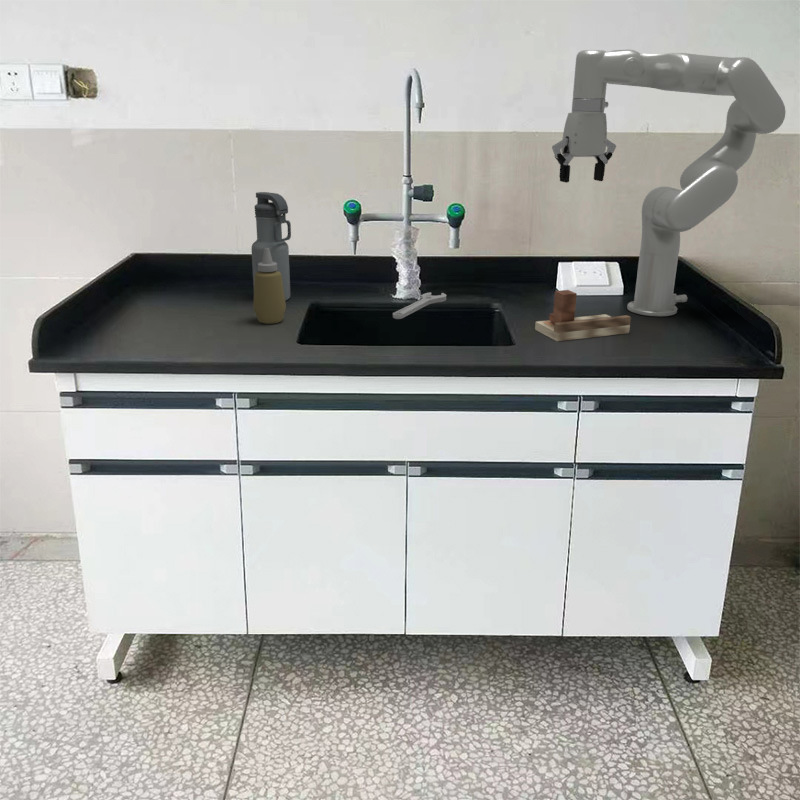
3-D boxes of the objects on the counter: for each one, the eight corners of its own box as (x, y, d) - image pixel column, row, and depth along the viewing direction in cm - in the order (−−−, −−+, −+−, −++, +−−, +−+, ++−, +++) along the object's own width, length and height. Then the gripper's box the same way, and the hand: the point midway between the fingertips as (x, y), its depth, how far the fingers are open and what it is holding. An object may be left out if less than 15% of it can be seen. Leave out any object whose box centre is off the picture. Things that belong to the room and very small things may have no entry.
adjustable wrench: (400, 321, 205) (400, 314, 205) (378, 317, 209) (378, 310, 208) (449, 300, 225) (449, 293, 224) (429, 296, 228) (429, 290, 227)
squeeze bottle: (293, 319, 204) (290, 247, 198) (275, 327, 198) (271, 253, 191) (265, 315, 208) (262, 244, 201) (247, 323, 201) (242, 249, 194)
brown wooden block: (559, 319, 198) (562, 287, 195) (573, 326, 193) (576, 293, 190) (546, 321, 197) (549, 288, 194) (560, 328, 191) (563, 294, 189)
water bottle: (299, 297, 224) (295, 193, 213) (275, 305, 216) (270, 197, 206) (270, 292, 229) (265, 190, 218) (246, 299, 221) (240, 194, 211)
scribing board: (604, 321, 205) (606, 306, 203) (629, 333, 196) (630, 316, 195) (535, 329, 198) (536, 313, 197) (556, 341, 189) (558, 324, 188)
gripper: (609, 106, 200) (602, 178, 206) (548, 106, 194) (542, 180, 200) (628, 107, 193) (620, 181, 200) (565, 107, 187) (558, 184, 194)
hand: (581, 181), depth 200 cm, fingers open, 9 cm apart
